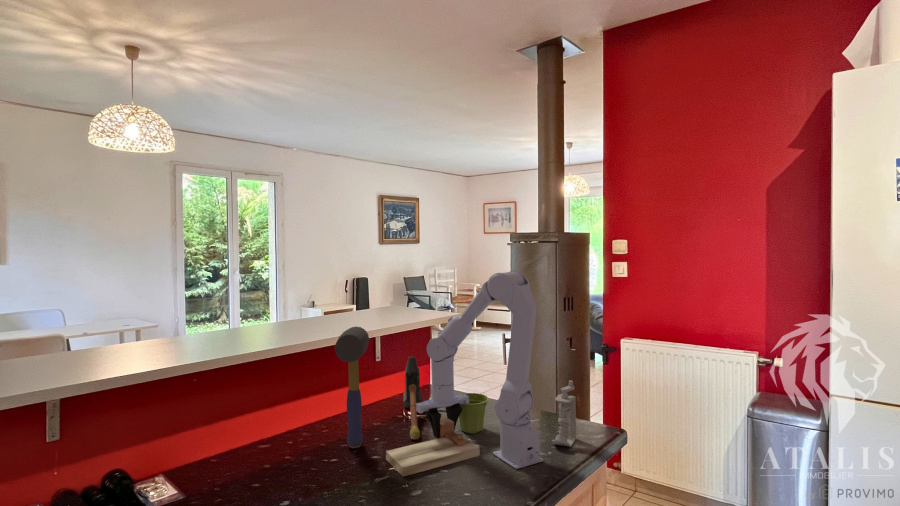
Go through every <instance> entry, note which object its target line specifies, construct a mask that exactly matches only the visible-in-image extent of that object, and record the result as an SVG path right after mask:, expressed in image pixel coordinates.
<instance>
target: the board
mask: <svg viewBox="0 0 900 506" xmlns="http://www.w3.org/2000/svg"><path fill="white" fill-rule="evenodd" d="M463 438H464V439H465V445H462V446H458V445H457V444H455V443H454V442H452V441H451V440H450V439H448V438H447V437H443V438H438V439H430V440H426V441H422V442H418V443H413V444H409V445H405V446H402V447H397V448H393V449H389V450H386V451H385V460H386V461H387V462H388V463H389V464H390V465H391V466H392V467H393V468H394V469H395V470H396V471H397V472H398V474H400V475H401V477H406V476H407V477H408V476H411V475H414V474H417V473H421V472H426V471H429V470H433V469H436V468H440V467H444V466H447V465H451V464H454V463H458V462H462V461H465V460H469V459H473V458H476V457H480V452H481V451H480V446H479V445H476V444H475V443H473V442H472V441H470V440H469V439H467V438H466V437H465V436H463Z"/></svg>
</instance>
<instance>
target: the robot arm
mask: <svg viewBox="0 0 900 506" xmlns="http://www.w3.org/2000/svg"><path fill="white" fill-rule="evenodd" d="M530 286H531V285H530V280H529V279H527V278H526V276H525V275H524V274H523V273H522V272H520V271H517V270H509V271H506V272H496V273H494V274H492V275H491V276H490V277H489V278H488V280H487V281H485V282H484V283H483V284H482V285H481V288H480V289H479V291H478V292H477V293H476V295H475V296H474V297H473V299H471V301H470V303H469V304H468V306H467V307H466V308H465V309H464V311H463V312H462V313H461V314H456V315H454V316H450V317H449V318H448V319H447V321H448V323H447V324H446V325H445V327H444V328H443V329H442V330H439V331H438V332H437V335H438V336H437V337H433V338H431V339H429V342H428V343H427V345H426V354H427V356H428V357H429V359H430V360H431V361H430V363H431V367H430V368H431V395H432V399H430V398H429V399H430V400H429V399H428V400H424V401H423V402H422V403H418V404H416V411H417V414H423V413H425V415H426V416H427V419H428V421H429V422H430V427H431V430H432V433H433V437H434V436H435V437H436V438H440V419H441V418H442V416H443V415H442V413H440V412H439V410H437V409H439V408H444V407H445V412H446V417H447V418H448V419H450V420H451V421H453V422H454V432H455V431H456V426H457V423H458V421H459V415H460V414H461V412H462V407H461V406H460V404H463V403H465V404H468V403H469V396H467V395H465V393H463V394H464V395H460V394H457V395H456V394H455V382H454V381H455V380H454V379H455V378H454V376H455V375H454V362H455V355H456V354H457V352H458V348H459V346H460V345H461V344H462V342H464V340H465V339H466V338H467V337H468V336H469V334H470V333H471V332H472V330H473V325H472V323H473V322H474V321H475V320H476V319H477V318H478V317H479V316H480V315H481V314H482V313H484V311H485V310H486V309H487V308H488V307H489V306H490V305H491V303H493V302H499V303H501V304H502V305H503V306H505V307H506V308H507V309H508V311H510V313H511V314H512V324H511V330H510V331H511V332H510V340H509V349H508V359H507V366H506V374H505V375H506V376H505V377H506V378H505V381H504V382H503V385H502V387H501V389H500V395H499V398H498V399H497V400H496V402H495V404H494V410H495V414H496V416H497V418H498V419H499V436H500V438H499V439H500V440H499V441H500V442H499V443H500V444H499V445H500V450H495V451H493V452H492V454H493V455H494V456H496V457H497V458H498V459H500V460H502V461H503V462H505V463H506V464H508V465H510V466H511V467H512V468H513V469H516V470H518V469H521V468H524V467H528V466H531V465H534V464H539V463H541V462H543V461H544V458H542V457H541V437H540V436H541V435H540V432H539V431H538V429H536V428H535V427H534V425H533V423H532V421H531V419H532V418H531V415H530V414H531V413H530V411H531V410H532V409H533V407H534V405H535V399H534V395H533V390H532V389H533V385H532V383H531V382H530V381H529V379H530V372H531V363H532V353H533V347H534V337H535V336H534V335H535V329H536V322H537V321H536V319H537V311H538V310H537V309H538V306H537V303H536V301H535V299H534V295H533V292H532V291H531V287H530Z"/></svg>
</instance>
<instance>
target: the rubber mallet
mask: <svg viewBox="0 0 900 506" xmlns="http://www.w3.org/2000/svg"><path fill="white" fill-rule="evenodd" d="M369 342H370V337H369V333H368V331H367V330H366V329H365V328H363V327H361V326H352V327H350V328H347V329H346V330H345V331H343V332H342V333H341V334H340V335H339V336H338V338H337V340H336V343H335V344H334V345H335V346H334V350H335V351H334V352H335V354H336V356H337V358H339V359H340V361H342V362H345V363H348V390H347V396H346V413H347V429H348V430H347V437H346V443H347V445H348V446H349V448H351V449H358V448H360V447H361V446H362V444H363V441H364V435H363V433H362V411H363V408H362V407H363V402H362V395H361V389H360V375H359V374H360V373H359V372H360V371H359V368H360V367H359V359H360V358H361V357H362V356H363V355H364V354H365V353H366V351H367V349H368V348H369V347H368V346H369Z"/></svg>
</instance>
